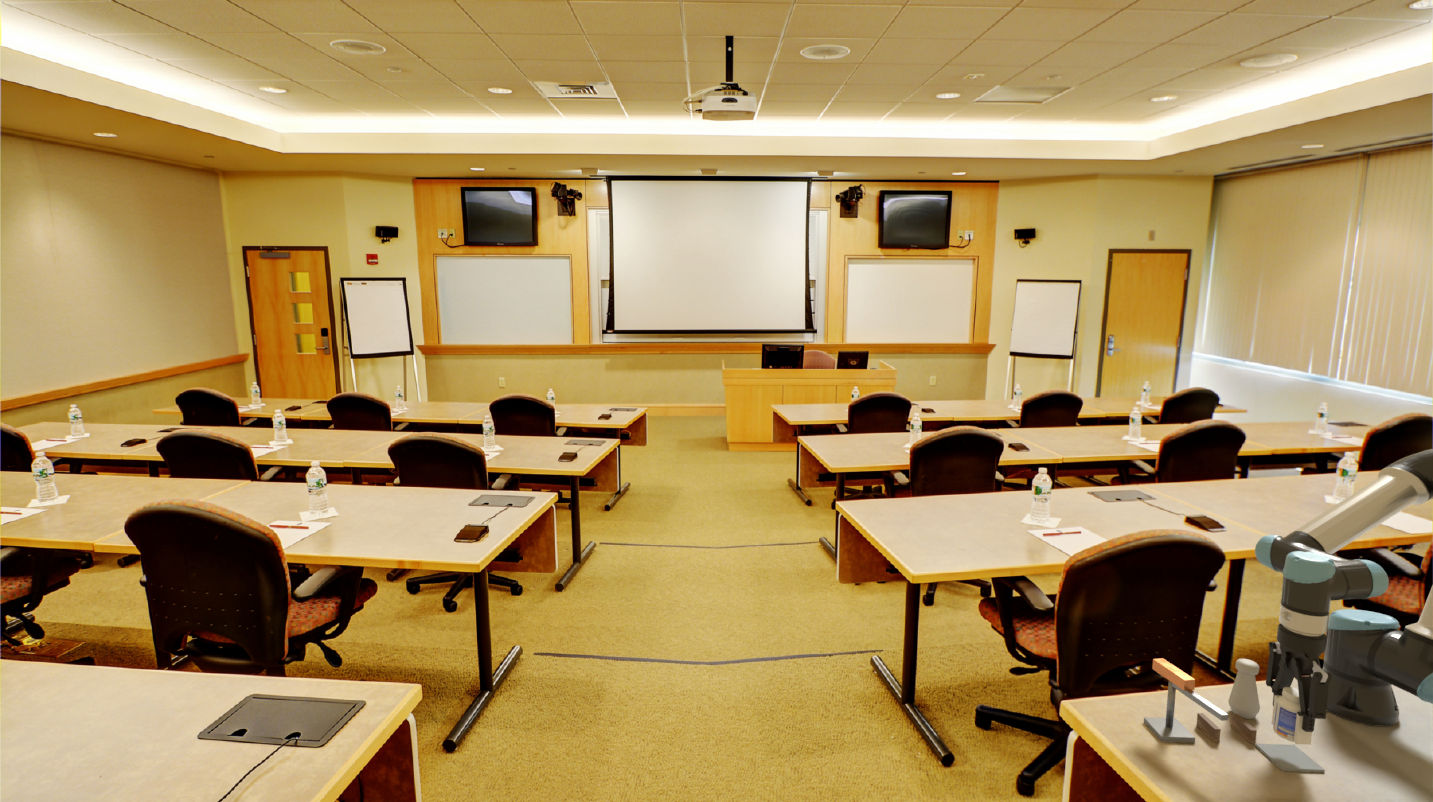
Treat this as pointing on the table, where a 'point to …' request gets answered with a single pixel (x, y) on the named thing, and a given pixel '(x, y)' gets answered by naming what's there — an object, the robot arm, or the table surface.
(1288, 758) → the pad
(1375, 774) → the table surface
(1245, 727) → the cradle
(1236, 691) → the salt shaker
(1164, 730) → the grey stand base plate
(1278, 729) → the pill bottle
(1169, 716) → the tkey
